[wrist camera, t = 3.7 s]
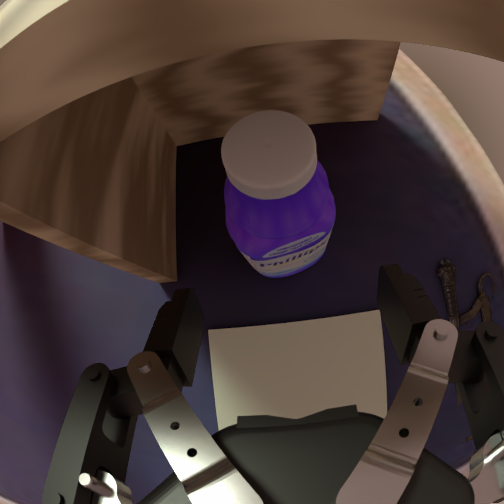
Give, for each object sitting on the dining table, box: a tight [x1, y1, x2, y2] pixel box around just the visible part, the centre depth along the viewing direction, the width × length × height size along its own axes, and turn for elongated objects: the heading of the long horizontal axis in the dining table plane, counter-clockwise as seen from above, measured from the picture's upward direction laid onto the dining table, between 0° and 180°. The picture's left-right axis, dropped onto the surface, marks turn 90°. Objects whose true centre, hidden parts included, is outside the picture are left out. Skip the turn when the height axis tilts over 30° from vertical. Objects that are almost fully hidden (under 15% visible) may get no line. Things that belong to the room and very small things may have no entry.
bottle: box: [221, 110, 336, 278], centre depth 20 cm, size 7×6×17 cm
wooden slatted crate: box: [0, 0, 504, 283], centre depth 18 cm, size 26×18×26 cm
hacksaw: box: [437, 258, 495, 444], centre depth 22 cm, size 24×10×2 cm, turn 10°
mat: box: [208, 310, 387, 430], centre depth 25 cm, size 16×14×1 cm
